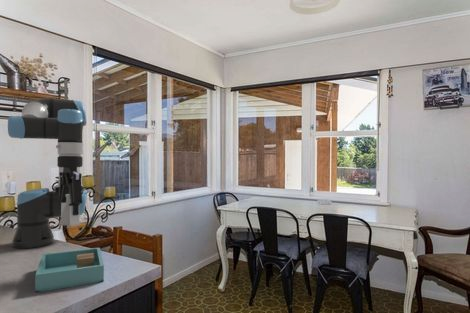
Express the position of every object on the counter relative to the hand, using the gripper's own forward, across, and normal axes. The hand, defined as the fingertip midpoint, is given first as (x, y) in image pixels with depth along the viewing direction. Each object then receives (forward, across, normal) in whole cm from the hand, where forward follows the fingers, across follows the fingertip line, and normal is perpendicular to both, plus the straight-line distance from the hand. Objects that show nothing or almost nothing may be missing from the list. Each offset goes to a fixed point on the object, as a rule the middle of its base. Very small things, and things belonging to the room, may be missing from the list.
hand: (70, 223), depth 107 cm
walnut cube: (+15, +6, +3) cm, 17 cm away
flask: (+1, 0, 0) cm, 1 cm away
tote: (+16, +4, -1) cm, 17 cm away
